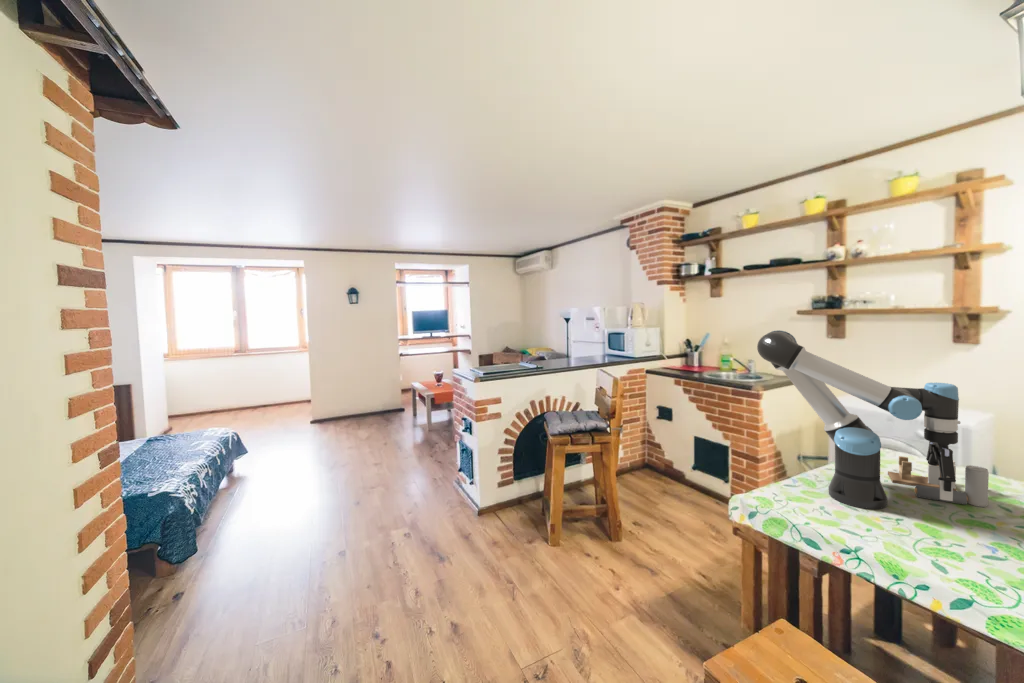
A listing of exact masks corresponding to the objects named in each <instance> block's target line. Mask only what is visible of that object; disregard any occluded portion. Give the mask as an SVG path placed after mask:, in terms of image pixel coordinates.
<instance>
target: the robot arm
mask: <svg viewBox="0 0 1024 683" xmlns="http://www.w3.org/2000/svg"><path fill="white" fill-rule="evenodd" d="M797 342H798V341H797V340H796V337H795V336H794V335H793V334H791V333H790V332H788V331H786V330H785V331H784V330H772V331H771V332H768V333H766V334H765V335H762V337H760V339H759V340H758V342H757V347H756V349H757V352H758V354H759V356H760V357H761V358H762V359H763V360H765V361H767V362H769V363H770V364H771V365H772V366H773V368H775V370H779V371H782V372H783V373H784V375H786V377H787V379H789V381H790V382H791V383H792V385H794V387H795V388H796V389H797V391H798V392H799V393H800V394H801V396H802V398H804V400H805V401H806V402H807V403H808V405H809V406H811V408H812V409H813V411H814V412H815V413H816V415H818V417H819V418H820V419H821V421H822V422H823V423H824V428H823V430H824V432H826V434H827V435H828V436H829V438H830V439H831V440H832V441H833V443H834V474H833V476H832V479H831V481H830V483H829V485H828V495H829V496H830V497H831V498H832V499H834V500H836V501H838V502H840V503H842V504H845V505H848V506H851V507H852V506H853V507H856V508H861V509H862V508H863V509H871V510H880V509H884V508H886V507H888V497H887V494H886V492H885V489H884V486H883V484H882V483H881V482H882V481H881V449H882V442H881V438H880V436H879V435H878V434H877V433H875V432H874V431H873V430H872V429H871V428H870V427H869V426H867V425H866V424H865V423H864V421H863V420H862V419H861V418H860V417H859V415H857V414H854V413H850V412H849V411H848V410H847V408H846V407H845V406H844V405H843V403H841V401H840V400H839V399H838V398H837V396H836V395H835V394H834V393H833V392H832V390H831V389H830V388H829V387H828V386H827V385H829V386H831V387H833V388H836V389H838V390H840V391H842V392H844V393H846V394H849V395H851V396H852V397H855V398H858V399H860V400H862V401H864V402H867V403H869V404H871V405H873V406H876V407H877V408H879V409H881V410H884V411H885V412H888V413H890V414H891V415H892V416H893V417H895V418H896V419H899V420H902V421H911V420H915V419H917V418H918V417H920V416H921V415H922V413H923V411H924V414H923V426H924V429H923V432H924V433H923V439H924V440H926V441H928V442H929V444H928V448H927V449H928V450H927V454H926V458H925V460H926V462H927V464H928V467H927V472H928V473H927V477H928V483H929V484H936V485H940V499H941V500H947V501H953V482H955V483H956V482H957V480H956V479H955V471H954V464H953V460H954V455H953V454H954V451H953V449H951V448H949V445H955V444H956V445H957V444H958V441H959V433H958V430H959V426H958V425H960V424H961V421H960V420H959V406H960V405H959V404H960V403H959V402H960V397H959V388H958V386H956V385H955V384H952V383H948V382H947V383H945V382H927V383H925V384H924V387H923V388H917V387H916V388H914V387H912V388H911V387H898V386H889V385H886V384H884V383H882V382H880V381H877V380H875V379H872V378H870V377H868V376H865V375H864V374H860V373H858V372H856V371H854V370H851V369H849V368H847V367H845V366H842V365H840V364H837V363H835V362H832V361H830V360H828V359H826V358H823V357H820V356H818V355H815V354H814V353H812V352H809V351H807V349H806V348H805V347H804V346H802V345H800V344H799V343H797ZM826 384H827V385H826ZM947 456H948V457H947ZM929 464H930V465H929ZM937 465H939V466H937ZM940 474H941V478H940Z"/></svg>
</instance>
